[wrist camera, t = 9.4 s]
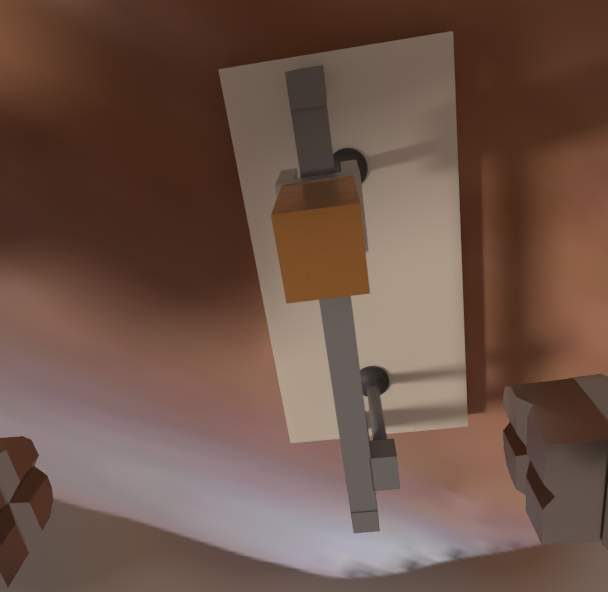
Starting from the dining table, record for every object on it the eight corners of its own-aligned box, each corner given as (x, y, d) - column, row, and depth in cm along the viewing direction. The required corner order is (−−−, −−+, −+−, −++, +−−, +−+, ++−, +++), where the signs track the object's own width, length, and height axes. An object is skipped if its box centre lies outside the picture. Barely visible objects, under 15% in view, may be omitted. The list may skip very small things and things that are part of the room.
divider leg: (298, 206, 35) (278, 305, 21) (289, 150, 34) (262, 214, 19) (358, 198, 35) (380, 293, 20) (352, 140, 33) (371, 199, 19)
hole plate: (291, 431, 45) (280, 547, 34) (222, 69, 34) (174, 71, 23) (463, 414, 44) (508, 529, 33) (447, 32, 33) (506, 17, 22)
